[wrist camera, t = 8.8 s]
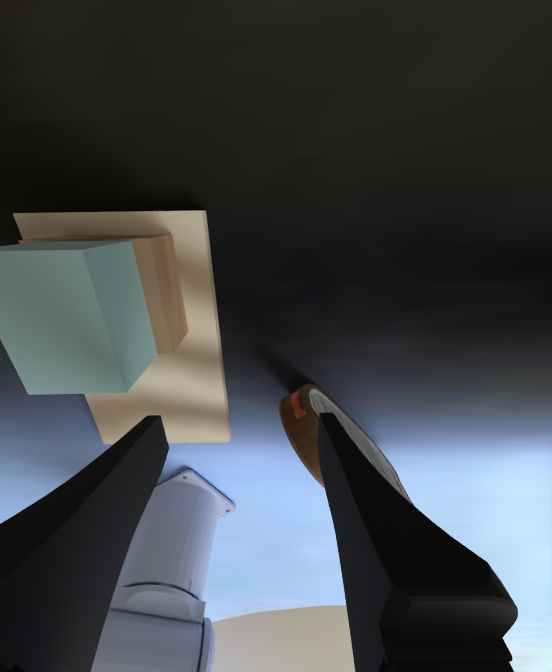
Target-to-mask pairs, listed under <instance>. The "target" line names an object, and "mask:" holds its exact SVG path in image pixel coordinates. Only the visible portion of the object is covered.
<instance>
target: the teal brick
mask: <svg viewBox="0 0 552 672" xmlns="http://www.w3.org/2000/svg"><path fill="white" fill-rule="evenodd" d="M0 339H1V341H2V343H3V345H4V347H5V349H6V351H7V353H8V355H9V357H10V359H11V361H12V363H13V365H14V367H15V369H16V371H17V373H18V375H19V377H20V379H21V381H22V383H23V385H24V387H25V389H26V391H27V393H28V395H32V394H97V393H127V392H128V391H129V389H130V388H131V387H132V386H133V385H134V383H135V382H136V381H137V380H138V378H139V377H140V376H141V375H142V374H143V372H144V371H145V370H146V369H147V368H148V366H149V365H150V364H151V363H152V362H153V360H154V359H155V358H156V357H157V355H158V353H157V349H156V345H155V340H154V336H153V332H152V327H151V323H150V319H149V314H148V310H147V306H146V301H145V297H144V293H143V288H142V284H141V280H140V275H139V271H138V267H137V262H136V258H135V254H134V250H133V245H132V241H73V242H34V243H25V244H17V245H8V246H0Z"/></svg>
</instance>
